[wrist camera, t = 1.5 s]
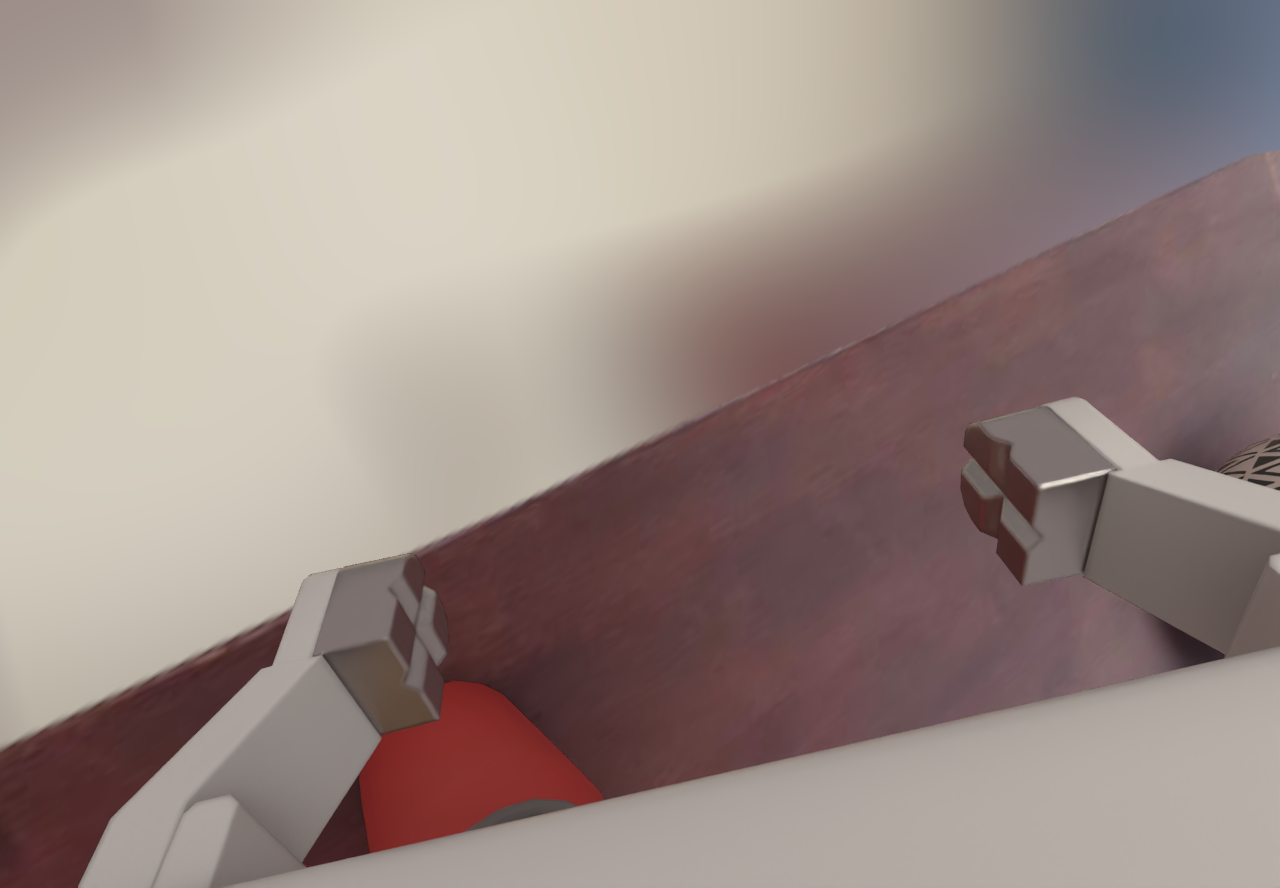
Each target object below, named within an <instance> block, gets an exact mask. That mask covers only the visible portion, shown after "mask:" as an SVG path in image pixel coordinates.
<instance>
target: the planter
mask: <svg viewBox="0 0 1280 888" xmlns="http://www.w3.org/2000/svg"><path fill="white" fill-rule="evenodd" d="M1215 472H1218V473H1221V474H1225V475H1228V476H1231V477H1235V478H1238V479H1241V480H1245V481H1248V482H1252V483H1255V484H1258V485H1262V486H1265V487H1268V488H1272V489H1275V490H1279V491H1280V434H1277V435H1274V436H1271V437H1269V438H1266V439H1264V440H1261V441H1259V442H1257V443H1254V444H1252V445H1251V446H1249V447H1247V448H1245V449H1244V450H1242V451H1240V452H1238V453H1237V454H1235V455H1234V456H1233V457H1231V458H1230V459H1229V460H1227V461H1226V462H1225V463H1223V464H1222V465H1221V466H1220V467H1219V468H1218V469H1217V470H1216V471H1215Z"/></svg>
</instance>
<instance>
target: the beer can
mask: <svg viewBox="0 0 1280 888" xmlns="http://www.w3.org/2000/svg"><path fill="white" fill-rule="evenodd" d="M380 736H381V737H382V739H381V741H380V742H379V744H378V745H377V747H376V749H375V750H374V752H373V753H372V755H371V756H370V758H369V759H368V761H367V762H366V764H365V766H364V767H363V769H362V770H361V772H360V776H359V780H360V791H361V802H362V809H363V815H364V821H365V827H366V833H367V839H368V845H369V851H370V853H374V852H379V851H383V850H387V849H392V848H396V847H401V846H405V845H409V844H414V843H418V842H422V841H427V840H431V839H436V838H440V837H444V836H449V835H453V834H458V833H462V832H466V831H471V830H475V829H479V828H484V827H488V826H493V825H497V824H501V823H506V822H510V821H515V820H519V819H523V818H528V817H532V816H536V815H541V814H545V813H550V812H554V811H558V810H563V809H567V808H572V807H576V806H580V805H585V804H589V803H593V802H598V801H602V800H604V799H603V797H602V795H601V792H600V791H599V790H598V789H597V788H596V787H595V786H594V785H593V784H592V783H591V782H590V781H589V780H588V779H587V778H586V776H585V775H584V774H583V773H582V772H581V771H580V770H579V769H578V768H577V767H576V766H575V765H574V764H573V763H572V762H571V761H570V760H569V759H568V758H567V757H566V756H565V755H564V754H563V753H562V752H561V751H560V750H559V749H558V748H557V747H556V746H555V745H554V744H553V743H552V742H551V741H550V740H549V739H548V738H547V737H546V736H545V735H544V734H543V733H542V732H541V731H540V730H539V729H538V728H537V727H536V726H535V725H534V724H532V723H531V722H530V721H529V720H528V719H527V718H526V717H525V716H524V715H523V714H522V713H521V712H520V711H519V710H518V709H517V708H516V707H515V706H514V705H513V704H512V703H511V702H510V701H509V700H508V699H507V698H506V697H505V696H504V695H503V694H502V693H500V692H498V691H496V690H494V689H492V688H489V687H487V686H485V685H483V684H481V683H473V682H464V681H451V682H446V683H444V689H443V698H442V706H441V714H440V720H438V721H434V722H431V723H427V724H423V725H419V726H415V727H411V728H407V729H404V730H400V731H396V732H392V733H388V734H384V735H380Z"/></svg>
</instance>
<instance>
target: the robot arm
mask: <svg viewBox="0 0 1280 888" xmlns="http://www.w3.org/2000/svg"><path fill="white" fill-rule="evenodd" d="M964 447H965V449H966V450H967V451H968V452H969V453H970V455H971V456H972V457H971V459H970V460H969V461H968V463H967V464H966V465H965V466H964V468H963V469H962V470H961V493H962V497H963V501H964V505H965V508H966V510H967V512H968V514H969V516H970V518H971V520H972V521H973V522H974V524H975V525H976V527H977V528H978V529H979V531H981V532H983V533H985V534H987V535H990V536H992V537H994V538H997V539H998V543H997V551H996V553H997V554H998V556H999V557H1000V558H1001V560H1002V561H1003V562H1004V563H1005V565H1006V566H1007V567H1008V569H1009V570H1010V571H1011V573H1012V574H1013V575H1014V576H1015V578H1016V579H1017V580H1018V582H1019V583H1020V584H1021V585H1022V586H1026V585H1031V584H1036V583H1041V582H1046V581H1051V580H1056V579H1061V578H1065V577H1070V576H1075V575H1080V574H1084V575H1083V577H1084V578H1086V579H1088V580H1090V581H1092V582H1094V583H1095V584H1097V585H1099V586H1101V587H1103V588H1104V589H1106V590H1108V591H1110V592H1112V593H1114V594H1115V595H1117V596H1119V597H1121V598H1123V599H1125V600H1126V601H1128V602H1130V603H1132V604H1134V605H1135V606H1137V607H1139V608H1141V609H1143V610H1145V611H1146V612H1148V613H1150V614H1152V615H1154V616H1156V617H1157V618H1159V619H1161V620H1163V621H1165V622H1166V623H1168V624H1170V625H1172V626H1174V627H1176V628H1177V629H1179V630H1181V631H1183V632H1185V633H1187V634H1188V635H1190V636H1192V637H1194V638H1196V639H1197V640H1199V641H1201V642H1203V643H1205V644H1207V645H1208V646H1210V647H1212V648H1214V649H1216V650H1218V651H1219V652H1221V653H1223V654H1225V657H1224V659H1220V660H1216V661H1211V662H1207V663H1203V664H1198V665H1194V666H1189V667H1185V668H1181V669H1176V670H1172V671H1167V672H1163V673H1159V674H1154V675H1150V676H1146V677H1141V678H1137V679H1132V680H1128V681H1124V682H1119V683H1115V684H1110V685H1106V686H1102V687H1097V688H1093V689H1088V690H1084V691H1080V692H1075V693H1071V694H1067V695H1062V696H1058V697H1053V698H1049V699H1045V700H1040V701H1036V702H1032V703H1027V704H1023V705H1019V706H1014V707H1010V708H1006V709H1001V710H997V711H992V712H988V713H984V714H979V715H975V716H971V717H966V718H962V719H958V720H953V721H949V722H945V723H940V724H936V725H932V726H927V727H923V728H918V729H914V730H910V731H905V732H901V733H897V734H892V735H888V736H884V737H879V738H875V739H871V740H866V741H862V742H857V743H853V744H849V745H844V746H840V747H835V748H831V749H827V750H822V751H818V752H813V753H809V754H805V755H800V756H796V757H791V758H787V759H783V760H778V761H774V762H769V763H765V764H761V765H756V766H752V767H747V768H743V769H739V770H734V771H730V772H725V773H721V774H717V775H712V776H708V777H703V778H699V779H695V780H690V781H686V782H681V783H677V784H673V785H668V786H664V787H659V788H655V789H651V790H646V791H642V792H637V793H633V794H629V795H624V796H620V797H615V798H611V799H607V800H602V801H598V802H593V803H589V804H585V805H580V806H576V807H572V808H567V809H563V810H558V811H554V812H550V813H545V814H541V815H536V816H532V817H528V818H523V819H519V820H515V821H510V822H506V823H501V824H497V825H493V826H488V827H484V828H479V829H475V830H471V831H466V832H462V833H458V834H453V835H449V836H444V837H440V838H436V839H431V840H427V841H422V842H418V843H414V844H409V845H405V846H401V847H396V848H392V849H387V850H383V851H379V852H374V853H370V854H365V855H361V856H357V857H352V858H348V859H344V860H339V861H335V862H330V863H326V864H322V865H317V866H313V867H308V868H307V867H306V866H305V865H303V864H302V861H303V860H304V858H305V857H306V855H307V854H308V852H309V851H310V849H311V847H312V846H313V844H314V843H315V841H316V840H317V838H318V837H319V835H320V834H321V832H322V830H323V829H324V827H325V826H326V824H327V823H328V821H329V820H330V818H331V817H332V815H333V813H334V812H335V810H336V809H337V807H338V806H339V804H340V803H341V801H342V800H343V798H344V796H345V795H346V793H347V792H348V790H349V789H350V787H351V786H352V784H353V783H354V781H355V779H356V778H357V776H358V775H359V773H360V772H361V770H362V769H363V767H364V766H365V764H366V762H367V761H368V759H369V758H370V756H371V755H372V753H373V752H374V750H375V749H376V747H377V745H378V744H379V742H380V741H381V739H382V737H381V736H380V735H384V734H388V733H392V732H396V731H400V730H404V729H407V728H411V727H415V726H419V725H423V724H427V723H431V722H434V721H438V720H440V714H441V706H442V698H443V689H444V681H445V680H444V678H443V676H442V674H441V673H440V671H439V669H438V666H439V664H440V663H441V662H442V661H443V659H444V658H445V657H446V655H447V654H448V645H449V631H448V622H447V616H446V613H445V610H444V607H443V604H442V602H441V600H440V598H439V596H438V594H437V592H436V591H434V590H432V589H430V588H428V587H426V586H424V585H423V584H424V578H425V569H424V568H423V566H422V564H421V563H420V561H419V559H418V557H417V556H416V555H414V554H411V553H407V554H403V555H398V556H393V557H388V558H383V559H379V560H374V561H369V562H364V563H360V564H355V565H350V566H345V567H343V568H338V569H334V570H329V571H324V572H320V573H315V574H311V575H309V576H308V577H307V578H306V579H305V580H304V581H303V582H302V585H301V587H300V590H299V593H298V596H297V598H296V601H295V604H294V607H293V609H292V612H291V615H290V618H289V621H288V623H287V626H286V629H285V632H284V634H283V637H282V640H281V643H280V646H279V648H278V651H277V654H276V657H275V660H274V662H273V665H272V666H271V667H267V668H263V669H261V670H260V671H259V672H258V673H257V674H256V675H255V676H254V677H253V678H252V679H251V680H250V681H249V682H248V683H247V684H246V685H245V686H244V687H243V688H242V689H241V690H240V691H239V692H238V693H237V694H236V695H235V696H234V697H233V698H232V699H231V700H230V701H229V702H228V703H227V704H226V705H225V706H224V707H223V708H222V709H221V710H220V711H219V712H218V713H217V714H216V715H215V716H213V717H212V718H211V719H210V720H209V721H208V722H207V723H206V724H205V725H204V726H203V727H202V728H201V729H200V730H199V731H198V732H197V733H196V734H195V735H194V736H193V737H192V738H191V739H190V740H189V741H188V742H187V743H186V744H185V745H184V746H183V747H182V748H181V749H180V750H179V751H178V752H177V753H176V754H175V755H174V756H173V757H172V758H171V759H170V760H169V761H168V762H167V763H166V764H165V765H164V766H163V767H162V768H161V769H160V770H159V771H158V772H157V773H156V774H155V775H154V776H153V777H152V778H151V779H150V780H149V781H148V782H147V783H146V784H145V785H144V786H143V787H142V788H141V789H140V790H139V791H138V792H137V793H136V794H135V795H134V796H133V797H132V798H131V799H130V800H129V801H128V802H127V803H126V804H125V805H124V806H123V807H122V808H121V809H120V810H119V811H118V812H117V813H116V814H115V815H114V816H113V817H112V818H111V819H110V821H109V823H108V825H107V827H106V829H105V831H104V834H103V836H102V838H101V840H100V842H99V844H98V846H97V848H96V850H95V852H94V854H93V856H92V859H91V861H90V863H89V865H88V867H87V869H86V871H85V873H84V875H83V877H82V879H81V881H80V884H79V886H78V888H1280V491H1279V490H1275V489H1272V488H1268V487H1265V486H1262V485H1258V484H1255V483H1252V482H1248V481H1245V480H1241V479H1238V478H1235V477H1231V476H1228V475H1225V474H1221V473H1218V472H1214V471H1211V470H1208V469H1204V468H1201V467H1198V466H1194V465H1191V464H1187V463H1184V462H1181V461H1177V460H1174V459H1166V460H1162V461H1159V460H1158V459H1156V458H1155V457H1154V456H1153V455H1151V454H1150V453H1149V452H1148V451H1147V450H1145V449H1144V448H1143V447H1142V446H1141V445H1139V444H1138V443H1137V442H1136V441H1134V440H1133V439H1132V438H1131V437H1130V436H1128V435H1127V434H1126V433H1125V432H1123V431H1122V430H1121V429H1120V428H1119V427H1117V426H1116V425H1115V424H1114V423H1113V422H1111V421H1110V420H1109V419H1108V418H1106V417H1105V416H1104V415H1103V414H1102V413H1100V412H1099V411H1098V410H1097V409H1095V408H1094V407H1093V406H1092V405H1091V404H1089V403H1088V402H1087V401H1086V400H1084V399H1081V398H1078V397H1071V398H1067V399H1063V400H1059V401H1055V402H1051V403H1047V404H1043V405H1039V406H1038V407H1035V408H1030V409H1026V410H1022V411H1018V412H1013V413H1009V414H1005V415H1001V416H997V417H992V418H988V419H984V420H980V421H976V422H972V423H969V425H968V427H967V429H966V431H965V437H964Z"/></svg>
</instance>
